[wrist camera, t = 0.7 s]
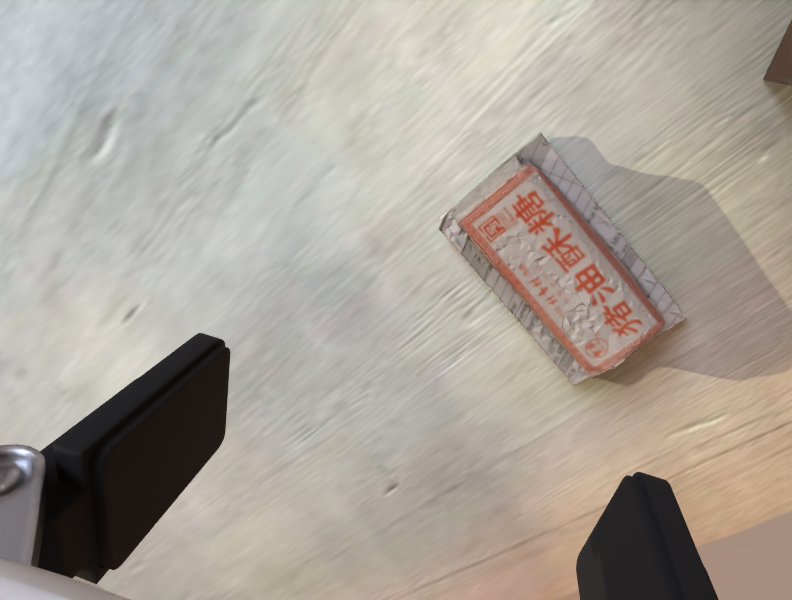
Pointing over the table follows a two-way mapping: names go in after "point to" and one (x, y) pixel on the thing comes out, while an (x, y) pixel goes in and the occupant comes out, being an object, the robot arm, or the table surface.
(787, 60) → the step shelf
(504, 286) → the packaged product
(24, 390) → the table surface
